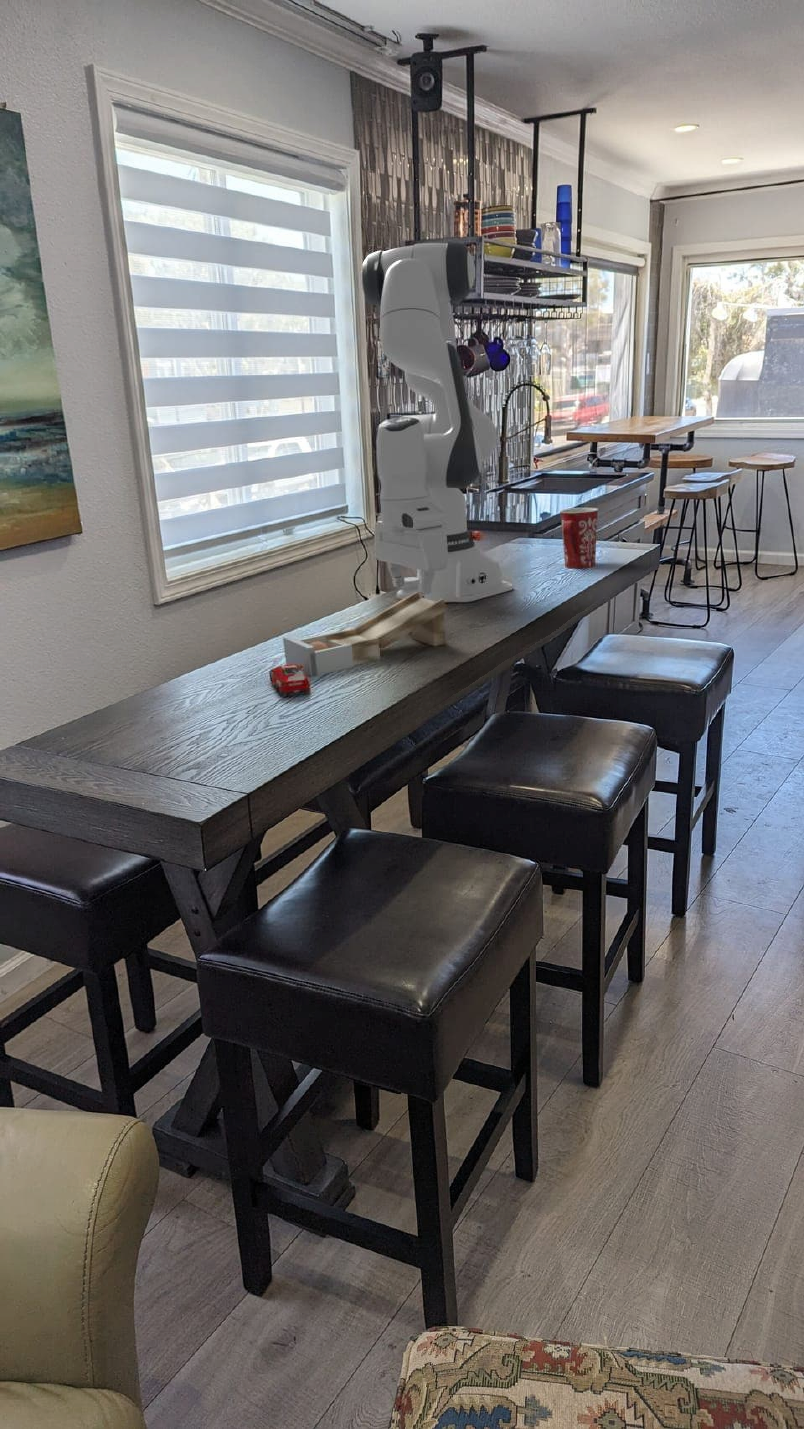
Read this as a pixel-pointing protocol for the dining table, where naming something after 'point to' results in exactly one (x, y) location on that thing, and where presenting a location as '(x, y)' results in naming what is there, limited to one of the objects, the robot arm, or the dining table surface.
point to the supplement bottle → (409, 588)
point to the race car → (289, 680)
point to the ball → (319, 646)
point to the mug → (579, 536)
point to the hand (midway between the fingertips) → (411, 590)
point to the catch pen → (317, 655)
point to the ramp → (394, 628)
